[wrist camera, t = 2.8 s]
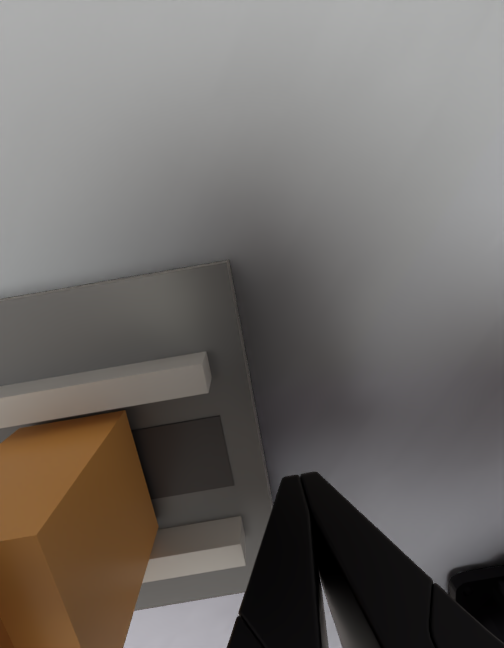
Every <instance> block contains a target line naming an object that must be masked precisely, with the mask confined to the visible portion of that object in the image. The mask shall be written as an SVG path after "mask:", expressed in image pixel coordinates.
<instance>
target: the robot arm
mask: <svg viewBox="0 0 504 648" xmlns="http://www.w3.org/2000/svg"><path fill="white" fill-rule="evenodd" d="M320 579H321V581H320ZM321 583H322V586H323V589H324V593H325V596H326V599H327V602H328V605H329V608H330V611H331V614H332V617H333V620H334V623H335V626H336V629H337V632H338V635H339V638H340V641H341V644H342V647H343V648H504V565H502V566H496V567H490V568H484V569H478V570H472V571H466V572H461V573H457V574H456V575H454V576H453V577H452V578H451V580H450V583H449V586H450V595H448V594H447V593H446V592H445V591H444V590H443V589H442V588H441V587H440V586H439V585H438V584H436V583H434V584H433V580H432V579H431V578H430V577H429V576H428V575H427V574H426V573H425V572H424V571H423V570H422V569H420V568H419V567H418V566H417V565H416V564H415V563H414V562H413V561H412V560H411V559H410V558H409V557H408V556H407V555H405V554H404V553H403V552H402V551H401V550H400V549H399V548H398V547H397V546H396V545H395V544H394V543H393V542H392V541H390V540H389V539H388V538H387V537H386V536H385V535H384V534H383V533H382V532H381V531H380V530H379V529H378V528H377V527H375V526H374V525H373V524H372V523H371V522H370V521H369V520H368V519H367V518H366V517H365V516H364V515H363V514H362V513H360V512H359V511H358V510H357V509H356V508H355V507H354V506H353V505H352V504H351V503H350V502H349V501H348V500H347V499H346V498H344V497H343V496H342V495H341V494H340V493H339V492H338V491H337V490H336V489H335V488H334V487H333V486H332V485H331V484H329V483H328V482H327V481H326V480H325V479H324V478H323V477H322V476H321V475H320V474H319V473H318V472H309V473H303V474H301V475H300V476H299V475H291V476H285V477H283V478H282V480H281V483H280V486H279V489H278V492H277V495H276V499H275V502H274V505H273V508H272V511H271V514H270V517H269V520H268V523H267V526H266V529H265V532H264V536H263V539H262V542H261V545H260V548H259V551H258V554H257V557H256V560H255V563H254V566H253V569H252V573H251V576H250V579H249V582H248V585H247V588H246V591H245V594H244V597H243V600H242V603H241V606H240V610H239V616H238V617H237V618H236V621H235V624H234V627H233V630H232V634H231V637H230V640H229V643H228V645H227V648H329V647H328V638H327V629H326V621H325V612H324V603H323V595H322V588H321Z"/></svg>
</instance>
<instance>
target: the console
mask: <svg viewBox="0 0 504 648" xmlns="http://www.w3.org/2000/svg"><path fill="white" fill-rule="evenodd" d="M123 410H125V411H126V414H127V418H128V421H129V425H130V428H131V432H132V435H133V439H134V442H135V446H136V449H137V453H138V456H139V460H140V463H141V467H142V470H143V474H144V477H145V481H146V484H147V488H148V491H149V495H150V498H151V502H152V505H153V509H154V512H155V516H156V519H157V523H158V526H159V527H158V530H157V534H156V537H155V541H154V544H153V547H152V551H151V554H150V558H149V561H148V565H147V568H146V571H145V575H144V578H143V582H142V585H141V588H140V592H139V595H138V599H137V602H136V605H135V609H134V611H136V610H142V609H148V608H154V607H160V606H166V605H172V604H178V603H183V602H189V601H195V600H201V599H207V598H213V597H219V596H225V595H231V594H237V593H243V592H245V591H246V588H247V585H248V582H249V579H250V576H251V573H252V569H253V566H254V563H255V560H256V557H257V554H258V551H259V548H260V545H261V542H262V539H263V536H264V532H265V529H266V526H267V523H268V520H269V517H270V514H271V511H272V508H273V501H272V495H271V490H270V484H269V478H268V473H267V467H266V462H265V456H264V451H263V445H262V440H261V434H260V428H259V423H258V417H257V412H256V406H255V401H254V395H253V390H252V384H251V379H250V373H249V367H248V362H247V356H246V351H245V345H244V340H243V334H242V329H241V323H240V318H239V312H238V306H237V301H236V295H235V290H234V284H233V279H232V273H231V268H230V262H229V260H225V261H219V262H213V263H207V264H201V265H196V266H190V267H184V268H178V269H172V270H167V271H161V272H155V273H149V274H143V275H137V276H132V277H126V278H120V279H114V280H108V281H102V282H97V283H91V284H85V285H79V286H73V287H67V288H62V289H56V290H50V291H44V292H38V293H32V294H27V295H21V296H15V297H9V298H3V299H0V443H2V442H3V441H4V440H5V439H7V438H8V437H9V436H10V435H12V434H13V433H14V432H15V431H16V430H18V429H19V428H23V427H29V426H35V425H41V424H46V423H52V422H58V421H64V420H70V419H76V418H82V417H88V416H93V415H99V414H105V413H111V412H117V411H123Z"/></svg>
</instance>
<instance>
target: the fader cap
mask: <svg viewBox="0 0 504 648" xmlns="http://www.w3.org/2000/svg"><path fill="white" fill-rule="evenodd" d="M158 527H159V526H158V523H157V519H156V516H155V512H154V509H153V505H152V502H151V498H150V495H149V491H148V488H147V484H146V481H145V477H144V474H143V470H142V467H141V463H140V460H139V456H138V453H137V449H136V446H135V442H134V439H133V435H132V432H131V428H130V425H129V421H128V418H127V414H126V411H125V410H123V411H117V412H111V413H105V414H99V415H93V416H88V417H82V418H76V419H70V420H64V421H58V422H52V423H46V424H41V425H35V426H29V427H23V428H19V429H18V430H16V431H15V432H14V433H13V434H12V435H10V436H9V437H8V438H7V439H5V440H4V441H3V442H2V443H0V648H123V646H124V643H125V640H126V636H127V633H128V629H129V626H130V622H131V619H132V616H133V612H134V609H135V605H136V602H137V599H138V595H139V592H140V588H141V585H142V582H143V578H144V575H145V571H146V568H147V565H148V561H149V558H150V554H151V551H152V547H153V544H154V541H155V537H156V534H157V530H158Z"/></svg>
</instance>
